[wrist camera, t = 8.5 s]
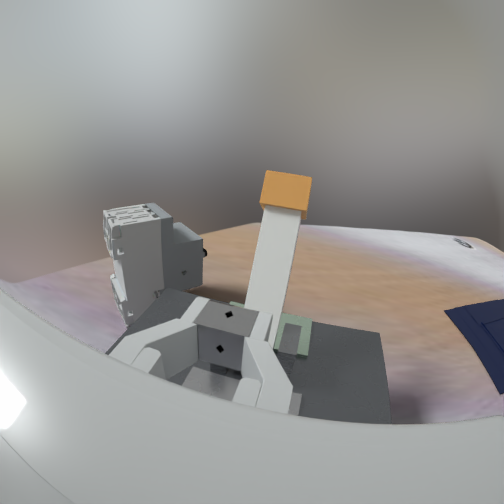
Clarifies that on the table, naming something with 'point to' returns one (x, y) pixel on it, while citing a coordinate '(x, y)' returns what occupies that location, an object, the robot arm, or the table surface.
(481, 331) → the dark blue panel
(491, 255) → the table surface
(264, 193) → the lever
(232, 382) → the box
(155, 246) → the circuit breaker
